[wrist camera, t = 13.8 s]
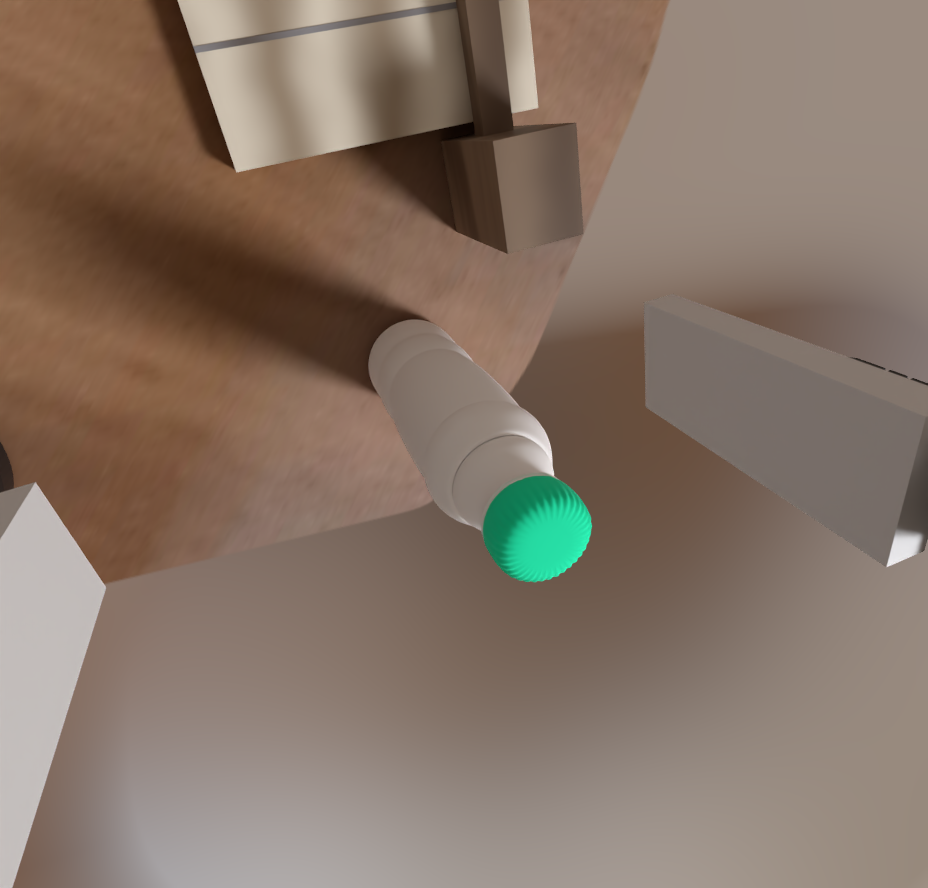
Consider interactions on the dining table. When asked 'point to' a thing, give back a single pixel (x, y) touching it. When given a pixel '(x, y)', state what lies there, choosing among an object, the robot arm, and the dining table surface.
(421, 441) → the water bottle
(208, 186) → the dining table surface
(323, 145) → the board
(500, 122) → the block with long handle
